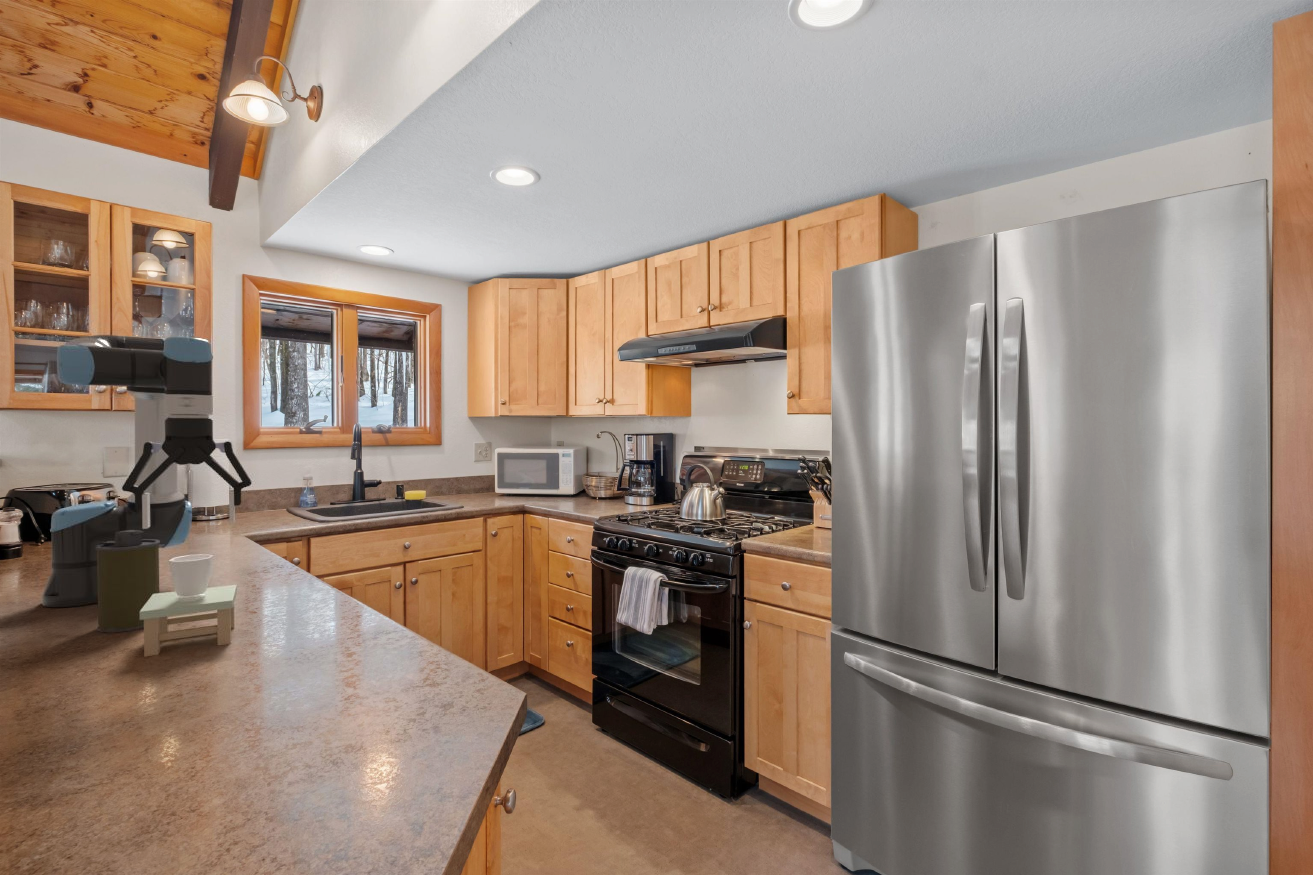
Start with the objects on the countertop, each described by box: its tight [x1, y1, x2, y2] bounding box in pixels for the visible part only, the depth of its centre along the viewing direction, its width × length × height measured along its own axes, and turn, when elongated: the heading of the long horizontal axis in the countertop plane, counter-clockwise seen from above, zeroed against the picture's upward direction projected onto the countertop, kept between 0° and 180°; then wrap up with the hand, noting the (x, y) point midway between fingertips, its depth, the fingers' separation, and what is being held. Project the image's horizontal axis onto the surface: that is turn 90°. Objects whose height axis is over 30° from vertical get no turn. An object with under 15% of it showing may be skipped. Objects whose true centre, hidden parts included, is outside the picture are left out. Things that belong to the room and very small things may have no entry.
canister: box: [95, 530, 160, 634], centre depth 132 cm, size 11×10×20 cm
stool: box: [140, 584, 238, 658], centre depth 123 cm, size 14×14×8 cm
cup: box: [168, 553, 214, 602], centre depth 122 cm, size 7×10×8 cm
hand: (190, 524), depth 123 cm, fingers open, 13 cm apart
